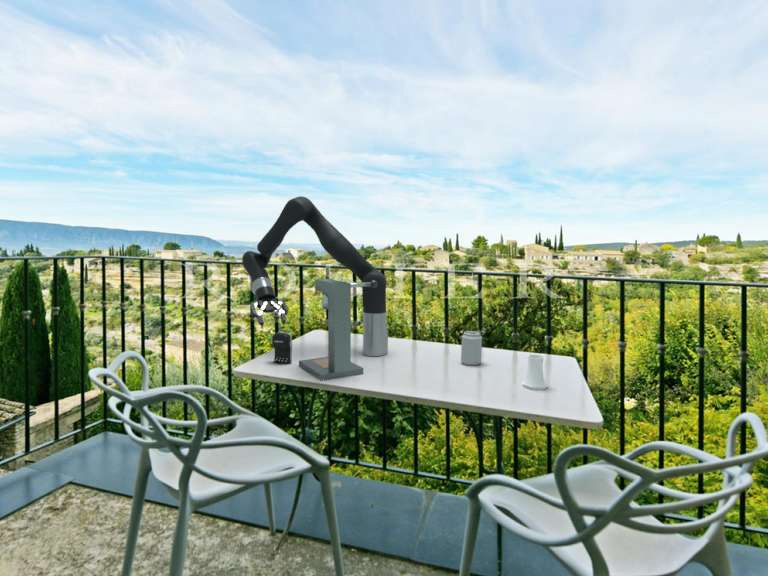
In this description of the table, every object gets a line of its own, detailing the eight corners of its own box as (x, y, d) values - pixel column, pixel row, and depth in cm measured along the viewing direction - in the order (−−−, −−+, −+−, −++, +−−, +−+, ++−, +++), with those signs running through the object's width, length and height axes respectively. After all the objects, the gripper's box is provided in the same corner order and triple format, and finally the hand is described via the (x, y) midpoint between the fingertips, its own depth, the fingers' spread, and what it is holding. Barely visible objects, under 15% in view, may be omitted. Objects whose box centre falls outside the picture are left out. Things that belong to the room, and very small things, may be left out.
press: (363, 356, 193) (364, 276, 189) (390, 369, 176) (391, 281, 172) (298, 366, 179) (297, 279, 176) (320, 380, 162) (320, 284, 159)
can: (483, 362, 187) (484, 331, 186) (478, 367, 180) (479, 335, 179) (464, 359, 190) (465, 329, 189) (458, 364, 183) (459, 333, 182)
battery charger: (271, 363, 183) (270, 333, 181) (276, 360, 186) (276, 331, 185) (287, 365, 180) (286, 334, 179) (292, 362, 184) (292, 332, 182)
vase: (541, 382, 163) (543, 353, 162) (550, 390, 155) (551, 359, 154) (519, 382, 162) (520, 353, 161) (526, 390, 155) (528, 359, 154)
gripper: (248, 286, 192) (257, 319, 184) (283, 284, 199) (293, 316, 191) (244, 298, 197) (253, 331, 189) (278, 295, 204) (288, 327, 196)
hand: (273, 323), depth 190 cm, fingers open, 8 cm apart
